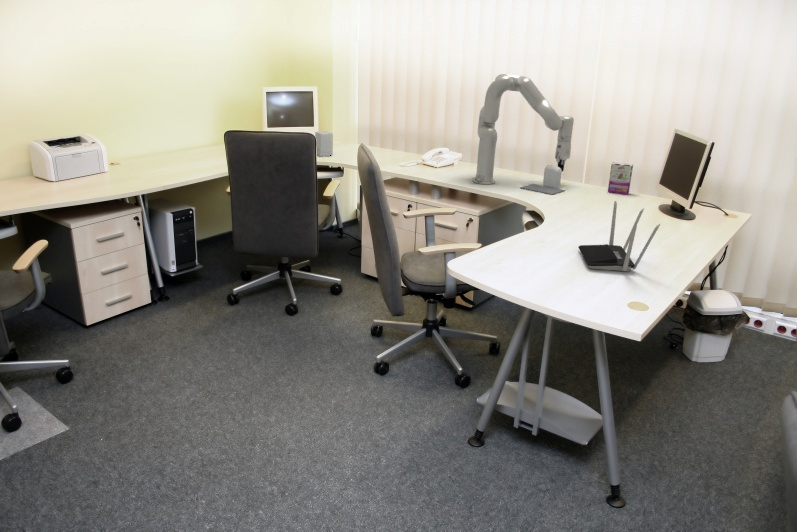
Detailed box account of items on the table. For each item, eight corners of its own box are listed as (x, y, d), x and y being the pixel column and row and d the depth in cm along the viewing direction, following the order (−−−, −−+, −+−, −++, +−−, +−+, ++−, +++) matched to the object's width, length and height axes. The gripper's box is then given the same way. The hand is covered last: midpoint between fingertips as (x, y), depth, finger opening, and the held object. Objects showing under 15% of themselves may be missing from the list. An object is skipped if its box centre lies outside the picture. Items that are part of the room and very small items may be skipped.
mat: (552, 195, 352) (552, 194, 351) (520, 188, 364) (520, 187, 363) (564, 191, 362) (564, 190, 361) (532, 184, 374) (532, 183, 374)
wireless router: (575, 246, 269) (581, 198, 262) (632, 250, 267) (640, 202, 260) (589, 275, 237) (597, 222, 230) (655, 279, 235) (665, 226, 228)
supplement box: (333, 156, 429) (333, 133, 424) (320, 157, 425) (320, 133, 420) (327, 153, 437) (327, 131, 431) (314, 154, 432) (314, 131, 427)
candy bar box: (628, 193, 364) (633, 164, 358) (628, 195, 359) (633, 165, 354) (608, 190, 367) (612, 161, 362) (607, 192, 363) (611, 163, 357)
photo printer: (541, 185, 372) (544, 164, 368) (546, 184, 375) (548, 163, 371) (556, 189, 365) (558, 167, 361) (560, 188, 367) (563, 166, 363)
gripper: (564, 141, 359) (559, 174, 366) (576, 138, 370) (572, 170, 377) (551, 139, 364) (547, 171, 370) (564, 136, 375) (560, 168, 381)
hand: (560, 171), depth 373 cm, fingers closed
